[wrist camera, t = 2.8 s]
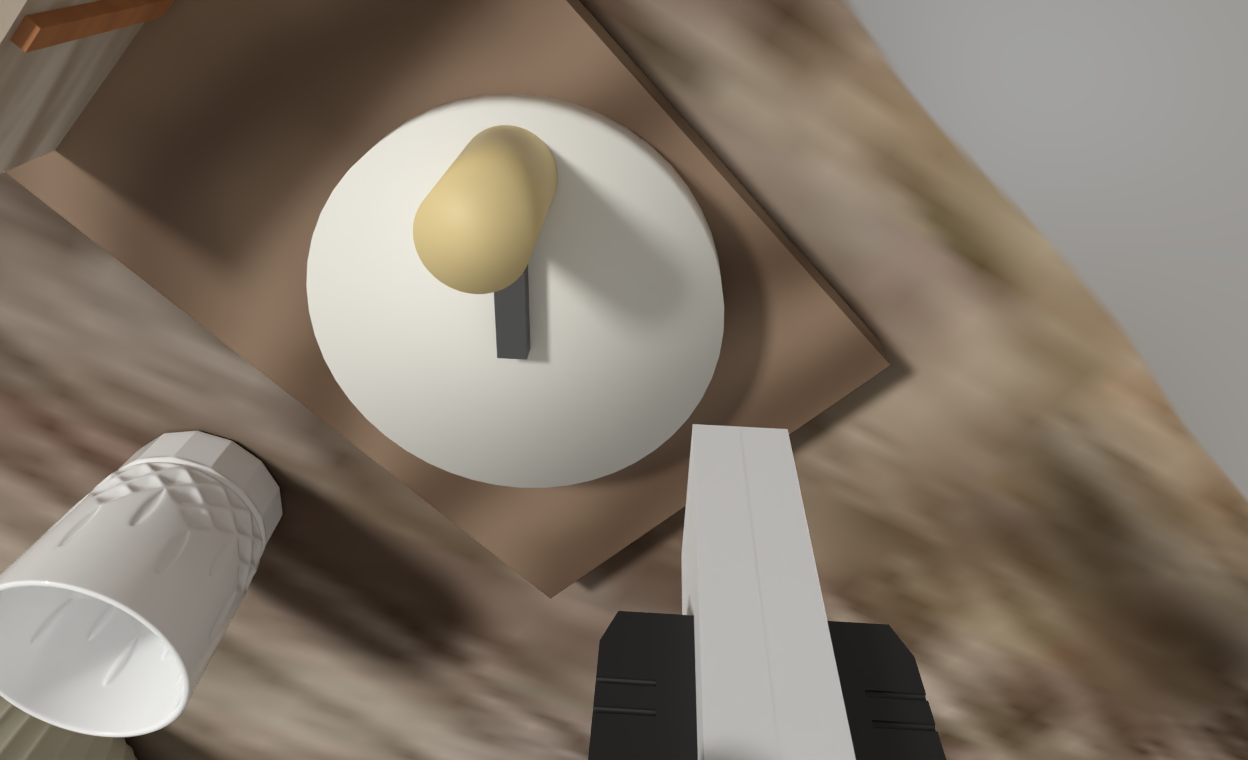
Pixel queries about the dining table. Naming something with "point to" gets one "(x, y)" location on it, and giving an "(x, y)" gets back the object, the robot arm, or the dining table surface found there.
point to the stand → (320, 157)
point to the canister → (52, 740)
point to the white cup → (135, 587)
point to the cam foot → (517, 291)
